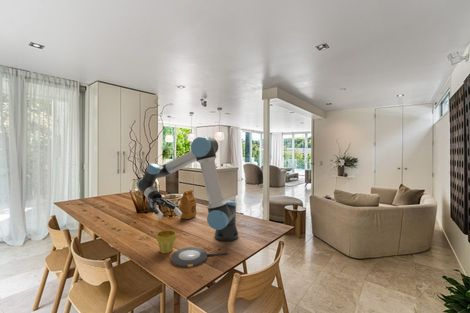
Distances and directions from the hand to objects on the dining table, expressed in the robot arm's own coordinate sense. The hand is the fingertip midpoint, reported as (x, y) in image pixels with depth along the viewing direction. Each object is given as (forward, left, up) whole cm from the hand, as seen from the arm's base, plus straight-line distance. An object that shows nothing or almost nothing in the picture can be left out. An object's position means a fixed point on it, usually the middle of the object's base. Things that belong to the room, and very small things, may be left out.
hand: (171, 216), depth 127 cm
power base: (-15, +13, -18) cm, 27 cm away
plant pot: (+3, +2, -19) cm, 19 cm away
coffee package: (-12, -55, -19) cm, 60 cm away
